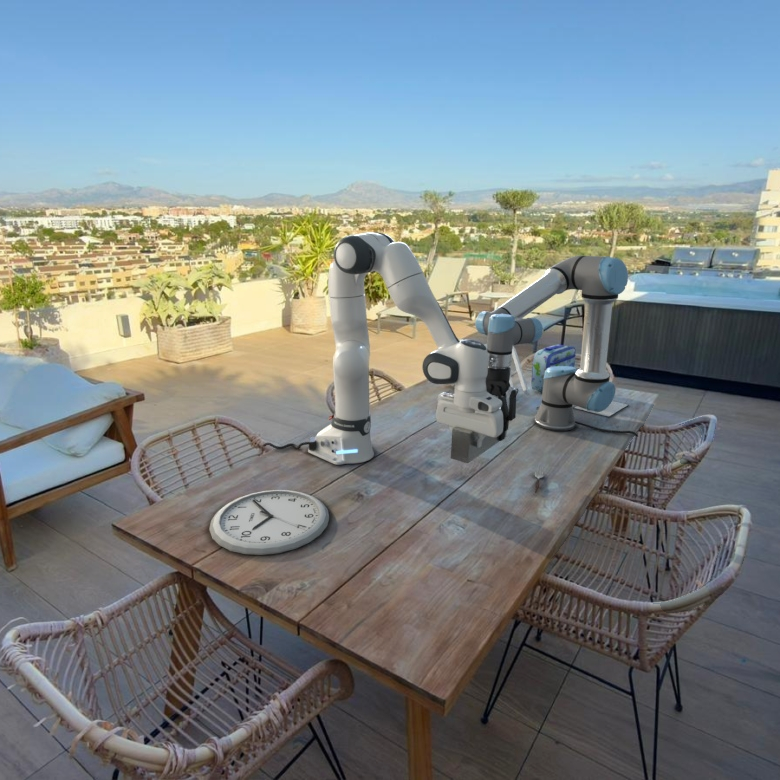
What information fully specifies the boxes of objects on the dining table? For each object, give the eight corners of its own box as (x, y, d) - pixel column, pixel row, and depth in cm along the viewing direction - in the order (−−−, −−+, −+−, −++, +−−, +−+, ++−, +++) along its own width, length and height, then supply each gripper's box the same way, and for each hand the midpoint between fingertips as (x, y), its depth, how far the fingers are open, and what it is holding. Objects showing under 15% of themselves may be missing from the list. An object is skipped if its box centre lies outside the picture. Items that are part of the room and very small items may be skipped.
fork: (530, 493, 151) (531, 487, 150) (535, 470, 165) (536, 465, 164) (539, 495, 150) (540, 489, 149) (544, 472, 164) (544, 466, 163)
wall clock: (327, 546, 121) (194, 551, 119) (327, 552, 122) (195, 557, 119) (330, 485, 150) (223, 488, 147) (330, 490, 150) (224, 493, 148)
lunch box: (547, 397, 237) (552, 352, 231) (526, 391, 245) (531, 348, 238) (574, 386, 255) (580, 344, 249) (554, 381, 262) (559, 340, 256)
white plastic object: (461, 429, 252) (437, 405, 227) (444, 352, 274) (420, 323, 250) (535, 404, 240) (518, 377, 215) (510, 326, 262) (492, 293, 237)
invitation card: (608, 416, 214) (573, 407, 224) (608, 416, 214) (573, 408, 224) (628, 404, 229) (594, 396, 238) (628, 405, 229) (594, 397, 238)
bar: (490, 432, 170) (492, 405, 167) (506, 436, 167) (508, 409, 164) (450, 458, 151) (452, 428, 148) (467, 463, 147) (469, 433, 145)
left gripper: (432, 393, 150) (430, 437, 154) (497, 408, 139) (493, 456, 143) (443, 388, 155) (441, 431, 159) (507, 402, 144) (503, 448, 148)
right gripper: (464, 363, 160) (460, 433, 167) (522, 374, 150) (515, 448, 157) (476, 358, 166) (471, 426, 173) (532, 368, 156) (525, 440, 163)
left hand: (466, 443), depth 151 cm, fingers closed on bar, 6 cm apart
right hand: (492, 436), depth 165 cm, fingers closed on bar, 6 cm apart
